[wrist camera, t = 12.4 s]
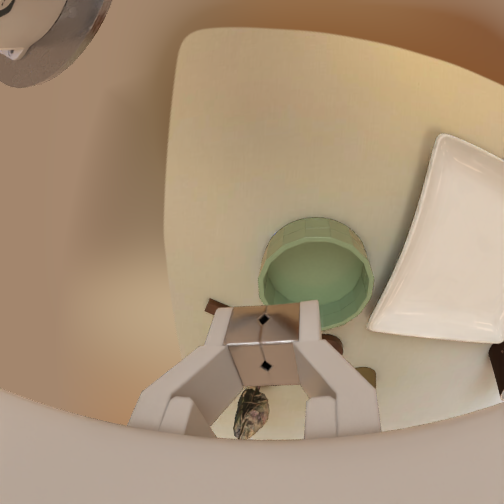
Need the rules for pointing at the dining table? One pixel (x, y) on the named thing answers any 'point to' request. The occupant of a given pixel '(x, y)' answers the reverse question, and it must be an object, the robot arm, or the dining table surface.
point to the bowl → (317, 269)
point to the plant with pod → (251, 412)
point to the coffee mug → (498, 365)
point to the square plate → (451, 252)
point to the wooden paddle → (332, 340)
